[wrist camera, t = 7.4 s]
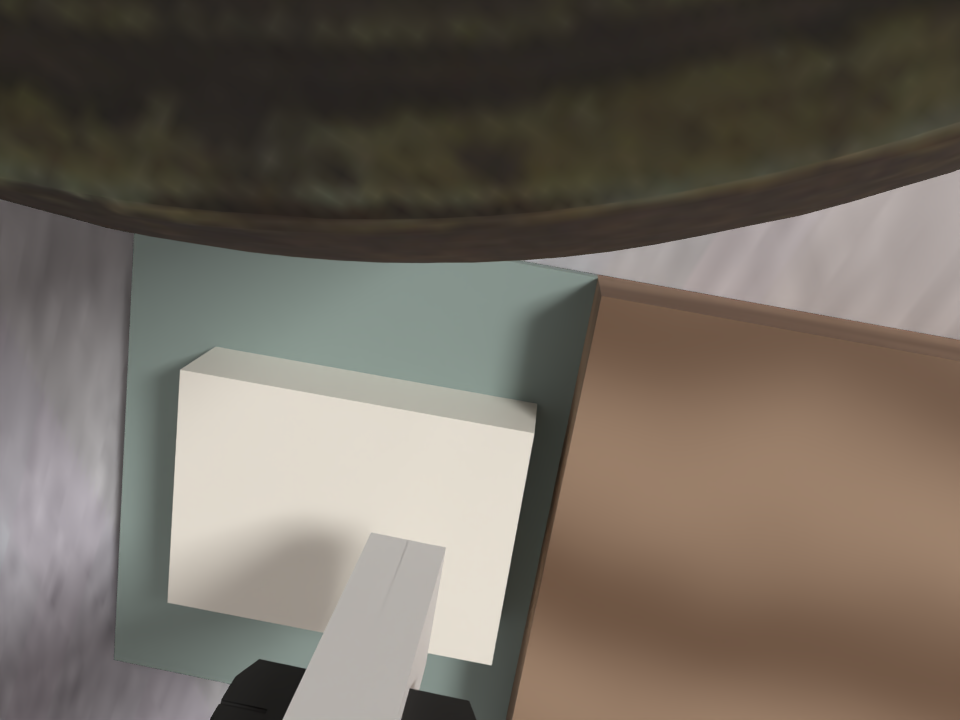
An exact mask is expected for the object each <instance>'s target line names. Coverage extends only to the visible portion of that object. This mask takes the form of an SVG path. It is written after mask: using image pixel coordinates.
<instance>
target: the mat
mask: <svg viewBox="0 0 960 720" xmlns="http://www.w3.org/2000/svg"><path fill="white" fill-rule="evenodd" d="M597 280H598V275H597V274H592V273H586V272H581V271H575V270H570V269H564V268H559V267H553V266H548V265H542V264H536V263H531V262H525V261H520V260H518V261H498V262H478V263H376V262H357V261H337V260H324V259H312V258H300V257H289V256H279V255H270V254H261V253H252V252H245V251H238V250H232V249H226V248H219V247H213V246H206V245H200V244H194V243H187V242H181V241H175V240H169V239H162V238H156V237H150V236H145V235H140V234H135V233H134V245H133V266H132V288H131V309H130V330H129V351H128V372H127V394H126V415H125V436H124V457H123V478H122V500H121V521H120V542H119V563H118V584H117V605H116V627H115V648H114V660H117V661H122V662H127V663H132V664H136V665H141V666H146V667H151V668H156V669H160V670H165V671H170V672H175V673H180V674H184V675H189V676H194V677H199V678H204V679H208V680H213V681H218V682H223V683H228V684H231V683H232V681H233V679H234V678H235V676H237V675H238V674H239V673H241V672H242V671H243V670H245V669H246V668H248V667H249V666H250V665H252V664H253V663H254V662H256V661H257V660H259V659H262V660H267V661H272V662H276V663H281V664H286V665H291V666H296V667H300V668H305V669H307V667H308V665H309V663H310V661H311V658H312V656H313V654H314V652H315V650H316V648H317V646H318V644H319V641H320V639H321V637H322V635H323V633H322V632H317V631H311V630H306V629H301V628H296V627H291V626H286V625H280V624H275V623H270V622H265V621H260V620H255V619H249V618H244V617H239V616H234V615H229V614H224V613H219V612H213V611H208V610H203V609H198V608H193V607H188V606H182V605H177V604H172V603H167V602H168V584H169V566H170V547H171V529H172V510H173V492H174V473H175V455H176V436H177V418H178V399H179V381H180V369H182V368H183V367H185V366H187V365H188V364H190V363H191V362H193V361H194V360H196V359H197V358H199V357H200V356H202V355H203V354H205V353H207V352H208V351H210V350H211V349H213V348H214V347H221V348H226V349H232V350H237V351H243V352H249V353H254V354H260V355H266V356H271V357H277V358H283V359H288V360H294V361H299V362H305V363H311V364H316V365H322V366H328V367H333V368H339V369H344V370H350V371H356V372H361V373H367V374H373V375H378V376H384V377H389V378H395V379H401V380H406V381H412V382H418V383H423V384H429V385H434V386H440V387H446V388H451V389H457V390H463V391H468V392H474V393H479V394H485V395H491V396H496V397H502V398H508V399H513V400H519V401H524V402H530V403H536V404H537V412H536V422H535V433H534V438H533V444H532V449H531V455H530V460H529V465H528V471H527V476H526V482H525V487H524V492H523V498H522V503H521V509H520V514H519V520H518V525H517V530H516V536H515V541H514V547H513V552H512V558H511V563H510V568H509V574H508V579H507V585H506V590H505V595H504V601H503V606H502V612H501V617H500V623H499V628H498V633H497V639H496V644H495V650H494V655H493V660H492V665H487V664H482V663H476V662H471V661H466V660H461V659H456V658H451V657H445V656H440V655H435V654H430V653H428V655H427V661H426V666H425V670H424V673H423V677H422V681H421V685H420V689H419V690H420V691H425V692H430V693H435V694H440V695H444V696H449V697H454V698H459V699H463V700H468V701H470V704H471V707H472V709H473V712H474V715H475V717H476V720H506V716H507V711H508V706H509V702H510V697H511V692H512V687H513V682H514V678H515V673H516V668H517V663H518V659H519V654H520V649H521V644H522V639H523V635H524V630H525V625H526V620H527V615H528V611H529V606H530V601H531V596H532V591H533V587H534V582H535V577H536V572H537V567H538V563H539V558H540V553H541V548H542V544H543V539H544V534H545V529H546V524H547V520H548V515H549V510H550V505H551V500H552V496H553V491H554V486H555V481H556V476H557V472H558V467H559V462H560V457H561V452H562V448H563V443H564V438H565V433H566V429H567V424H568V419H569V414H570V409H571V405H572V400H573V395H574V390H575V385H576V381H577V376H578V371H579V366H580V361H581V357H582V352H583V347H584V342H585V337H586V333H587V328H588V323H589V318H590V314H591V309H592V304H593V299H594V294H595V290H596V285H597Z"/></svg>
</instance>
